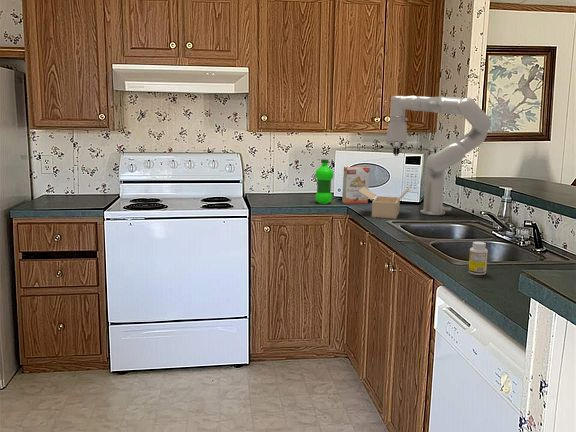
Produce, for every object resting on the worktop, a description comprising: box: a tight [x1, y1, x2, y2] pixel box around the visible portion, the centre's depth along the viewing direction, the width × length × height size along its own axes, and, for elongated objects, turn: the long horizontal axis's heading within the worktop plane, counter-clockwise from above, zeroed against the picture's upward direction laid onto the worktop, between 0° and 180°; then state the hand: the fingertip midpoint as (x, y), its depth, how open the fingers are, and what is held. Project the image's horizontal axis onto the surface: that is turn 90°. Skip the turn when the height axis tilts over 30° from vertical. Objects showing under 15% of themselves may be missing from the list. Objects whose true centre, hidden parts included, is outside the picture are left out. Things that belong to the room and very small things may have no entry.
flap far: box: [358, 187, 377, 201], centre depth 301 cm, size 8×18×1 cm
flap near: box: [398, 185, 412, 201], centre depth 296 cm, size 8×18×1 cm
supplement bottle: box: [468, 241, 489, 276], centre depth 191 cm, size 6×6×10 cm
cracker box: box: [341, 166, 371, 205], centre depth 336 cm, size 14×6×21 cm, turn 105°
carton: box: [371, 195, 401, 220], centre depth 300 cm, size 12×21×8 cm, turn 165°
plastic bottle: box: [314, 158, 334, 205], centre depth 333 cm, size 10×10×25 cm
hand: (396, 155), depth 307 cm, fingers closed
